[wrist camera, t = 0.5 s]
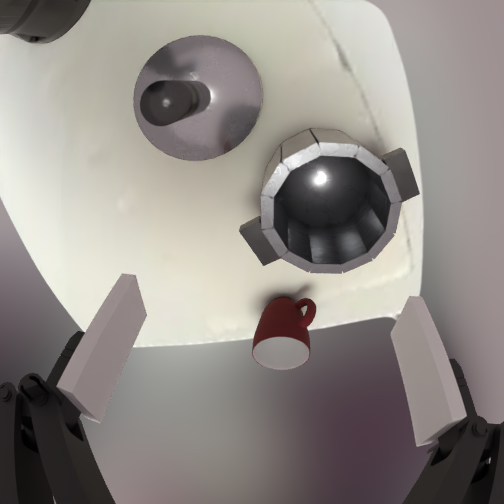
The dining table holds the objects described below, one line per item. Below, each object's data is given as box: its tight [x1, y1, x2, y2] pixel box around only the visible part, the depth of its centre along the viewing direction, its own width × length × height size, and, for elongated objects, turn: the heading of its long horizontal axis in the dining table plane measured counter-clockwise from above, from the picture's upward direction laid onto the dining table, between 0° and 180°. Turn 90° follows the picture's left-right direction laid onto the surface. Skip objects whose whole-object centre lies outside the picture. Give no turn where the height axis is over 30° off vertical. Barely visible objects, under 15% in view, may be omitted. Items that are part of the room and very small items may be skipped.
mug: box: [252, 297, 316, 370], centre depth 41 cm, size 10×8×10 cm
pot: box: [239, 128, 420, 274], centre depth 30 cm, size 14×19×9 cm
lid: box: [134, 36, 263, 161], centre depth 25 cm, size 15×15×12 cm
